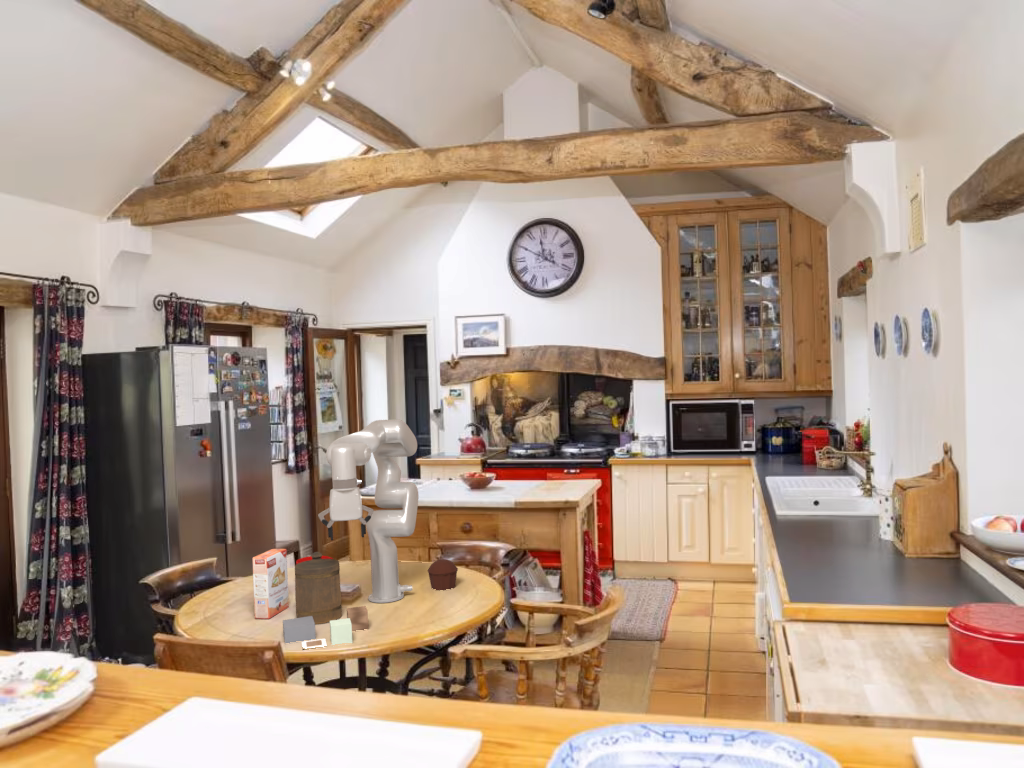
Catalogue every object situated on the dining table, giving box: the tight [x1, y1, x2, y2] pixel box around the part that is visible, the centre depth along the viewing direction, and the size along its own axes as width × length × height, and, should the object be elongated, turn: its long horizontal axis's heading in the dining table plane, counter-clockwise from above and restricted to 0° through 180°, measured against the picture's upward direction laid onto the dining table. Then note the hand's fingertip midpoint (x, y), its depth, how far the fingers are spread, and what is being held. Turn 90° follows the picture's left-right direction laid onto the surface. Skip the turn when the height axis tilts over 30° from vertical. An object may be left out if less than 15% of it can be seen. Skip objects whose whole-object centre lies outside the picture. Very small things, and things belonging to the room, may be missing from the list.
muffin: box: [427, 558, 459, 591], centre depth 294 cm, size 12×11×10 cm
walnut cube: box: [346, 605, 369, 632], centre depth 250 cm, size 6×6×6 cm
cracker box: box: [252, 548, 290, 620], centre depth 271 cm, size 14×6×21 cm, turn 168°
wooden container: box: [294, 551, 343, 625], centre depth 263 cm, size 15×15×22 cm
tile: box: [301, 637, 328, 649], centre depth 236 cm, size 7×7×1 cm
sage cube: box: [329, 617, 353, 646], centre depth 238 cm, size 6×6×6 cm
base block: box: [282, 616, 317, 644], centre depth 244 cm, size 9×9×5 cm
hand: (347, 538), depth 251 cm, fingers open, 9 cm apart
